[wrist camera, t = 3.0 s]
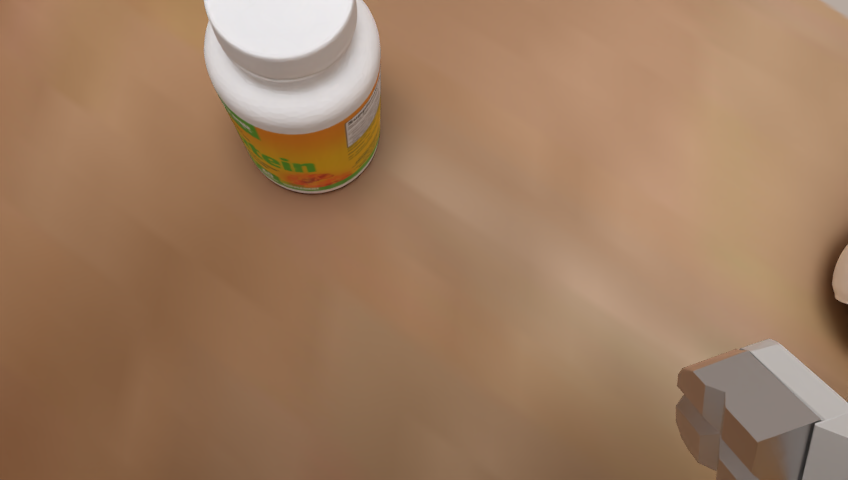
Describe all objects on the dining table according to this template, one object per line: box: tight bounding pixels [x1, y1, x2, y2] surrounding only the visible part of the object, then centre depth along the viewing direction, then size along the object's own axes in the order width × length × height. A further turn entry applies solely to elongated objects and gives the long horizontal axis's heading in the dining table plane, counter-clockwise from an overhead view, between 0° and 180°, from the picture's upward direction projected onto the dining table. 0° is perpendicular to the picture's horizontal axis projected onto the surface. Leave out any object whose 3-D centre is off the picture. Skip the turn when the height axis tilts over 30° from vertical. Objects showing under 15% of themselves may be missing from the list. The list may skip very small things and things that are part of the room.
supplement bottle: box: [204, 0, 381, 193], centre depth 22 cm, size 5×5×10 cm
